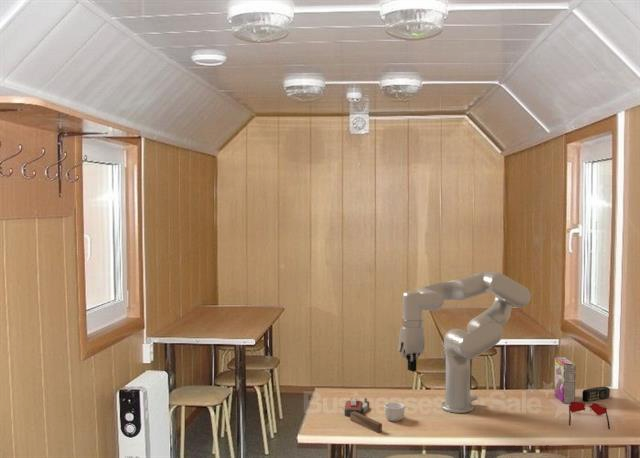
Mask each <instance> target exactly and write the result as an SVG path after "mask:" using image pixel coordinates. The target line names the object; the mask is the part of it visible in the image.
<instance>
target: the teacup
mask: <svg viewBox="0 0 640 458" xmlns="http://www.w3.org/2000/svg"><path fill="white" fill-rule="evenodd" d="M383 409H384V415H385V417H386V418H387V420H388V421H391V422H400V420H402V419H403V418H404V416H405V404H404V403H401V402H396V401H390V402H386V403H385V404H384V405H383Z"/></svg>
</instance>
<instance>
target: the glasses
mask: <svg viewBox="0 0 640 458" xmlns="http://www.w3.org/2000/svg"><path fill="white" fill-rule="evenodd" d="M589 404H590V405H588V407H589V410H590V412H594V413H595V415H596V416H602V415H604V414H605V415H606V420H607V421H606V422H607V429H610V430H611V427H610V420H609V416H608V412H607V407H606V406H605V405H604V404H602V403H596V402H589ZM585 410H586V402H584V401H575V402H572V401H571V403H570V404H569V405H568V413H569V414H568V415H569V416H568V417H569V419H568V426H571V423H572V422H571V421H572V420H571V419H572V415H571V413H577V412H580V411H585Z"/></svg>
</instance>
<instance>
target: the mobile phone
mask: <svg viewBox="0 0 640 458" xmlns="http://www.w3.org/2000/svg"><path fill="white" fill-rule="evenodd" d="M610 393H611V390H610V388H609V387H608V386H597V387H591V388H587V389H584V390H582V395H581V396H582V398H581V399H582V402H585V403H591V402H593V401H594V402H596V401H600V400H601V401H602V400H605V399H608V398H609V397H610V396H611V395H610Z"/></svg>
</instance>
